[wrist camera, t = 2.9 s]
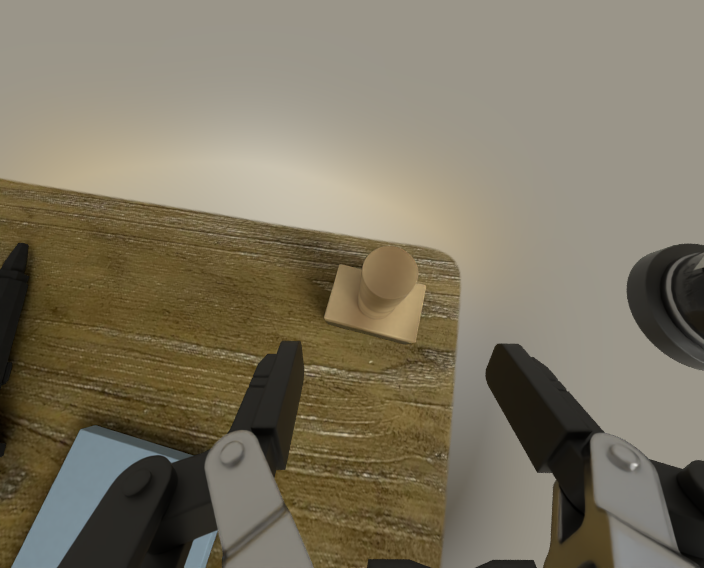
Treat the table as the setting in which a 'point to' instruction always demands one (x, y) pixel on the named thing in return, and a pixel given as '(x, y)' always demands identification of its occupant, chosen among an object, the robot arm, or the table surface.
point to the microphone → (11, 307)
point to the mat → (91, 495)
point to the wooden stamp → (379, 296)
